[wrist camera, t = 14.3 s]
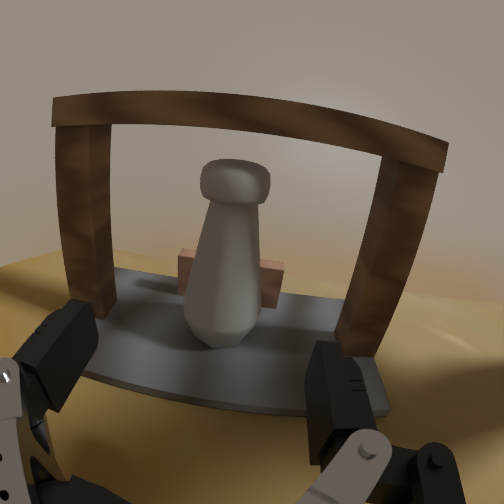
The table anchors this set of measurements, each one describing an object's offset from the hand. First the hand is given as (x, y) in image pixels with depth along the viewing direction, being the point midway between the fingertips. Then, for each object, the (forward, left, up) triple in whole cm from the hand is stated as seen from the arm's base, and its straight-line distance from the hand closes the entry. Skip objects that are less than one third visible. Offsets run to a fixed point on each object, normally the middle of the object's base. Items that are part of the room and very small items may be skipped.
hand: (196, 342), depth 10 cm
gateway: (-4, -10, -9) cm, 14 cm away
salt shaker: (-4, -10, -9) cm, 14 cm away
